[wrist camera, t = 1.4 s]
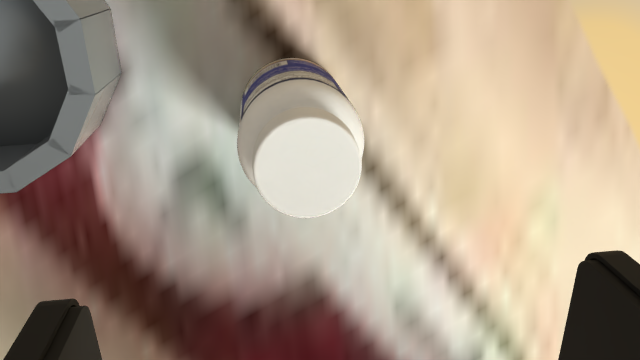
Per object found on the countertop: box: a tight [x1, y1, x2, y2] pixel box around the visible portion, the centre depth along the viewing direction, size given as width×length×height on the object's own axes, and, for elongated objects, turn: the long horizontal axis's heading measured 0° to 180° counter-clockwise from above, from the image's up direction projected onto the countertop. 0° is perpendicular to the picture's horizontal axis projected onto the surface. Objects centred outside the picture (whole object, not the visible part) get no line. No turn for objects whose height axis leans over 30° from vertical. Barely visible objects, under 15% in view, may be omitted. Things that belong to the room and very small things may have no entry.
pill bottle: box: [237, 58, 364, 218], centre depth 23 cm, size 5×5×9 cm
